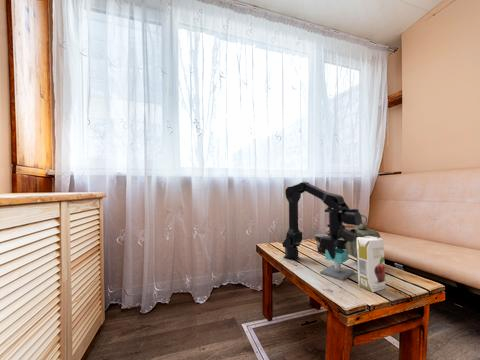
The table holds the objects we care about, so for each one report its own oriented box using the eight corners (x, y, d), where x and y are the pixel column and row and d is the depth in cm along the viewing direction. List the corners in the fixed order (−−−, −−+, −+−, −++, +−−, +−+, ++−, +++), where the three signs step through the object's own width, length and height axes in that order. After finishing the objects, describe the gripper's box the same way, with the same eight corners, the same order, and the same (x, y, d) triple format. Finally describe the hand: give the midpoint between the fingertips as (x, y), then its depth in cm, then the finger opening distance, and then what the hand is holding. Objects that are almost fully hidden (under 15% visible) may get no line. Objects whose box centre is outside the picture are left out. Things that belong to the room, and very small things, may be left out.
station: (320, 273, 96) (320, 260, 96) (332, 267, 104) (332, 254, 104) (342, 280, 88) (342, 266, 89) (354, 272, 96) (354, 259, 96)
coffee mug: (332, 254, 123) (332, 237, 123) (317, 254, 125) (316, 236, 125) (328, 249, 134) (328, 233, 135) (314, 248, 136) (313, 232, 137)
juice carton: (355, 285, 84) (353, 237, 85) (369, 281, 87) (367, 234, 88) (373, 294, 77) (371, 241, 78) (388, 289, 80) (386, 238, 81)
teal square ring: (325, 259, 97) (325, 250, 97) (332, 255, 101) (332, 247, 102) (341, 263, 91) (341, 253, 91) (348, 259, 96) (348, 250, 96)
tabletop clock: (382, 269, 100) (380, 216, 101) (367, 271, 98) (364, 217, 99) (358, 259, 114) (356, 213, 115) (344, 261, 112) (342, 213, 113)
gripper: (345, 227, 85) (346, 266, 84) (362, 222, 97) (363, 256, 96) (319, 224, 93) (320, 260, 93) (338, 219, 106) (339, 251, 105)
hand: (336, 257), depth 96 cm, fingers closed on teal square ring, 7 cm apart
